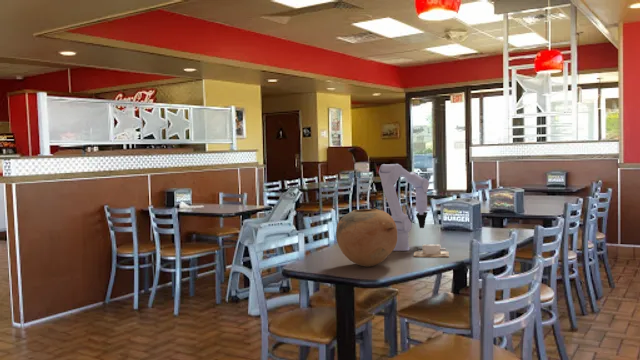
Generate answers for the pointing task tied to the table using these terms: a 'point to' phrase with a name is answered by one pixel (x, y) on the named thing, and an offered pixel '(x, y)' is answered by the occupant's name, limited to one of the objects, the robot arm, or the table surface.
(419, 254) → the pad
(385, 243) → the pot
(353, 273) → the table surface
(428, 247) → the connector
